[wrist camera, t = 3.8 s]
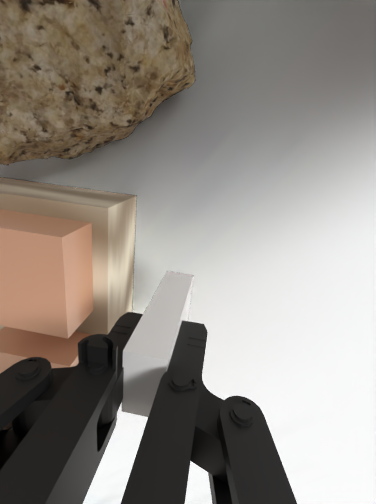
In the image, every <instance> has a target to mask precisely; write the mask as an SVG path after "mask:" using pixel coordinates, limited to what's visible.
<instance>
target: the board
mask: <svg viewBox="0 0 376 504" xmlns="http://www.w3.org/2000/svg"><path fill="white" fill-rule="evenodd" d="M136 198H137V196H135V195H128V194H120V193H113V192H106V191H98V190H91V189H83V188H76V187H69V186H61V185H54V184H46V183H39V182H32V181H24V180H17V179H9V178H2V177H0V209H2V210H9V211H16V212H22V213H29V214H36V215H43V216H49V217H56V218H63V219H69V220H76V221H83V222H90V223H92V265H93V311H92V312H91V313H90V315H89V316H88V317H87V318H86V319H85V320H84V321H83V322H82V324H81V325H80V326H79V327H78V328H77V329H76V330H75V331H76V332H82V333H87V334H92V335H94V334H106V335H108V333H109V332H110V330H111V329H112V327H113V326H114V325H115V323H116V322H117V320H118V319H119V317H121V316H122V315H124V314H125V313H127V312H132V300H133V274H134V249H135V223H136ZM4 327H5V326H1V325H0V330H1V329H2V328H4Z"/></svg>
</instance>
